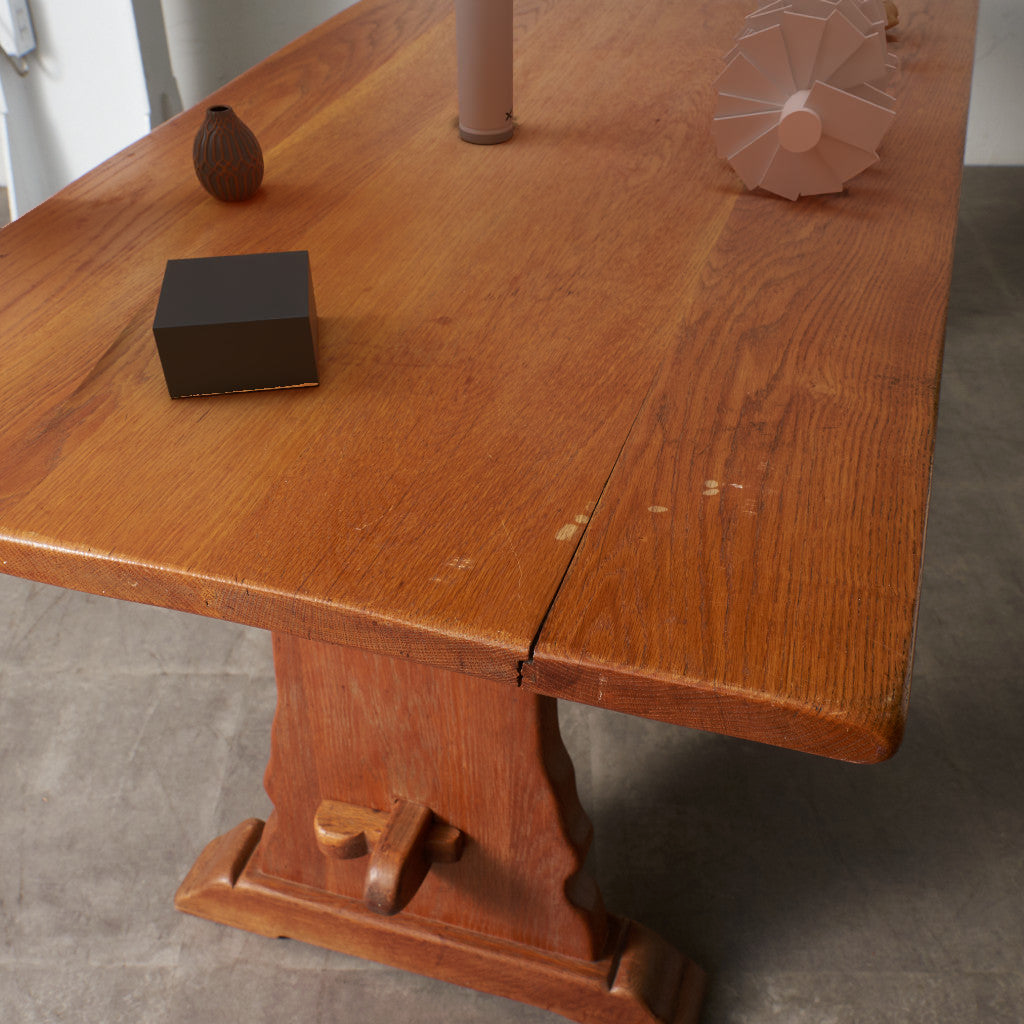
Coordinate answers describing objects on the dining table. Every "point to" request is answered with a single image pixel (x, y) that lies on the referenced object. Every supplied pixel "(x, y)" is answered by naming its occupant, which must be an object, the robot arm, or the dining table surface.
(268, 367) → the riser block
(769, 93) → the spiral staircase
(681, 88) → the dining table surface
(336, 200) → the dining table surface
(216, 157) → the vase
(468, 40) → the travel mug
